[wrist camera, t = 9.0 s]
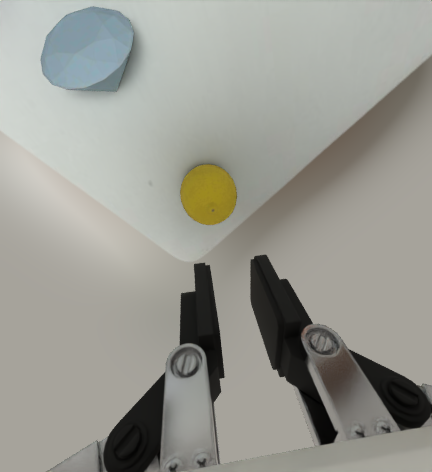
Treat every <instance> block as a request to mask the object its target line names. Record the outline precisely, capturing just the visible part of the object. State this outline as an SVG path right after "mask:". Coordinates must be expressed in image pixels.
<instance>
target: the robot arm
mask: <svg viewBox="0 0 432 472" xmlns="http://www.w3.org/2000/svg"><path fill="white" fill-rule="evenodd" d="M194 272H195V290H196V291H195V292H187V293H181V315H180V346H178V347H177V348H175V349H174V350H173V351H172V352H171V353H170V355H169V357H168V358H167V362H166V371H165V373H164V374H163V375H162V376H161V377H160V378H159V379H158V380H157V382H156V383H155V384H154V385H153V386H152V387H151V388H150V389H149V390H148V391H147V392H146V393H145V395H144V396H143V397H142V398H141V399H140V400H139V401H138V402H137V403H136V404H135V405H134V406H133V407H132V409H131V410H130V411H129V412H128V413H127V414H126V415H125V416H124V417H123V419H121V420H120V422H119V423H118V424H117V425H116V426H115V427H114V429H113V430H112V431H111V433H110V434H109V436H108V437H107V438H105V439H104V440H102V441H100V442H98V441H95V442H93V443H92V444H90V445H88V446H87V447H85V448H84V449H82V450H80V451H79V452H77V453H76V454H74V455H72V456H71V457H69V458H68V459H66V460H64V461H63V462H61V463H59V464H58V465H56V466H55V467H53V468H51V469H50V470H48V471H47V472H432V386H431V385H427V384H422V386H418V385H416V384H415V383H413V382H412V381H411V380H409V379H407V378H406V377H404V376H402V375H400V374H398V373H396V372H394V371H392V370H390V369H388V368H386V367H384V366H382V365H380V364H378V363H376V362H374V361H372V360H370V359H368V358H366V357H364V356H362V355H359V354H357V353H355V352H353V351H351V350H349V349H348V348H347V347H346V345H345V343H344V342H343V340H342V339H341V337H340V336H339V335H338V334H337V333H336V332H335V331H334V330H332V329H331V328H329V327H327V326H325V325H320V324H313V323H312V321H311V319H310V318H309V316H308V314H307V313H306V311H305V309H304V307H303V306H302V304H301V302H300V300H299V299H298V297H297V295H296V293H295V292H294V290H293V288H292V287H291V285H290V283H289V282H288V280H287V279H281V280H279V278H278V276H277V274H276V272H275V270H274V268H273V266H272V265H271V263H270V261H269V259H268V257H267V255H260V256H255V257H254V259H252V260H251V305H252V308H253V311H254V314H255V317H256V320H257V323H258V326H259V329H260V332H261V335H262V338H263V341H264V344H265V347H266V350H267V354H268V356H269V360H270V363H271V366H272V368H273V370H276V369H277V371H278V374H279V376H280V377H284V376H285V378H286V380H287V381H288V382H289V383H291V384H292V385H293V387H294V390H295V393H296V396H297V398H298V401H299V404H300V406H301V409H302V412H303V415H304V418H305V420H306V423H307V426H308V429H309V431H310V434H311V437H312V439H313V442H314V445H315V447H310V448H304V449H299V450H294V451H288V452H283V453H278V454H272V455H267V456H261V457H257V458H251V459H246V460H241V461H235V462H230V463H225V464H220V456H219V447H218V437H217V427H216V418H215V409H214V401H215V400H216V399H217V397H218V396H219V394H220V393H221V388H220V380H219V379H220V378H224V368H223V358H222V348H221V339H220V330H219V323H218V317H217V310H216V304H215V297H214V291H213V283H212V277H211V271H210V265H206V266H205V263H199V264H194Z"/></svg>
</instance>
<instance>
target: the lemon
mask: <svg viewBox="0 0 432 472" xmlns="http://www.w3.org/2000/svg"><path fill="white" fill-rule="evenodd" d="M180 195H181V202H182V205H183V207H184V209H185V211H186V212H187V214H188V215H189V216H190V217H191V218H192V219H193V220H195V221H197V222H199V223H201V224H205V225H214V224H218V223H220V222H222V221H224V220H225V219H227V218H228V217H229V216H230V214H231V213H232V212H233V210H234V207H235V205H236V199H237V192H236V187H235V184H234V181H233V179H232V178H231V176H230V175H229V174H228V173H227V172H226V171H225V170H223V169H222V168H220V167H218V166H216V165H210V164H207V165H200V166H198V167H195V168H194V169H192V170H191V171H190V172H189V173H188V174H187V175H186V176H185V178H184V180H183V182H182V185H181V190H180Z"/></svg>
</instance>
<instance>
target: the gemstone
mask: <svg viewBox="0 0 432 472" xmlns="http://www.w3.org/2000/svg"><path fill="white" fill-rule="evenodd" d="M133 36H134V32H133V29H132V26H131V23H130V20H129V19H128V18H126V17H125V16H124V15H123V14H121V13H120V12H119V11H116V10H110V9H104V8H99V7H89V8H86V9H83V10H79V11H76V12H73V13H71V14H68V15H66V16H65V17H64V18H63V19H62V20H61V21H60V22H58V24H57V25H56V26H55V27H54V28H53V29H52V31H51V32H50V33H49V34H48V35H47V37H46V41H45V44H44V48H43V52H42V56H41V64H42V71H43V75H44V76H45V77H46V78H47V79H48V80H49V81H50V83H51V84H52V85H55V86H58V87H61V88H64V89H67V90H88V91H115V92H116V91H117V89H118V86H119V83H120V80H121V77H122V75H123V72H124V69H125V66H126V63H127V60H128V57H129V54H130V51H131V47H132V42H133Z"/></svg>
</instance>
